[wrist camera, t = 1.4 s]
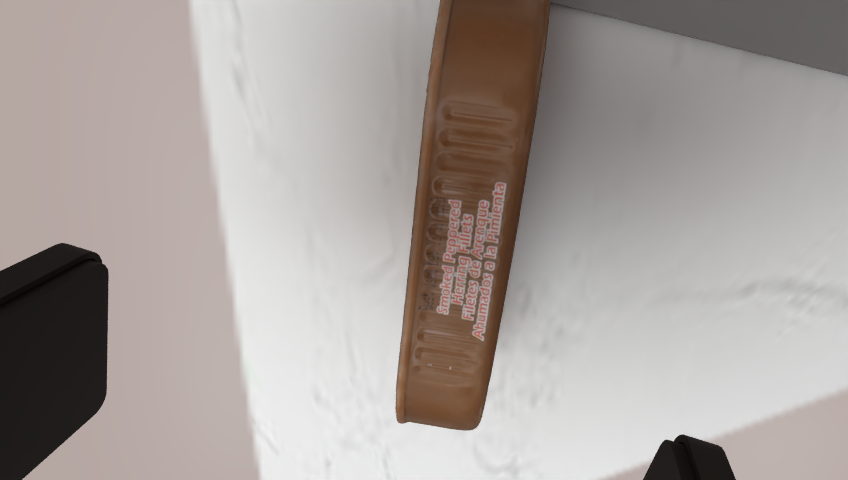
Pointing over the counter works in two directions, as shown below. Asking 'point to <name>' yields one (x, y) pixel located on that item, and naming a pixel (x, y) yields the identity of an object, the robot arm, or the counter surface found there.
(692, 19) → the flat grey bar
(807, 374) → the counter surface
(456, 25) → the tin
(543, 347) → the counter surface
